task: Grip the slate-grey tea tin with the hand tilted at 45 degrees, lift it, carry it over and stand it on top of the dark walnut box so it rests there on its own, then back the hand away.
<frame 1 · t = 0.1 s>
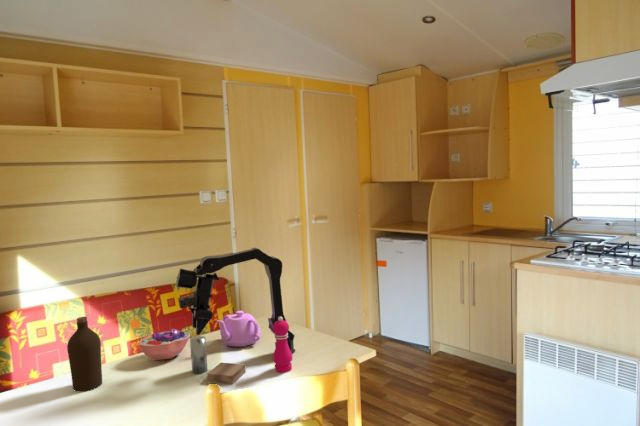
hand: (196, 331, 171), 15 cm above the table, tool pointing down, fingers open, 9 cm apart
pepper mill: (283, 369, 170), on the table
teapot: (237, 344, 200), on the table
olive oil: (88, 386, 164), on the table
walnut box: (227, 377, 166), on the table
tea tin: (200, 371, 172), on the table
cell model: (166, 357, 188), on the table
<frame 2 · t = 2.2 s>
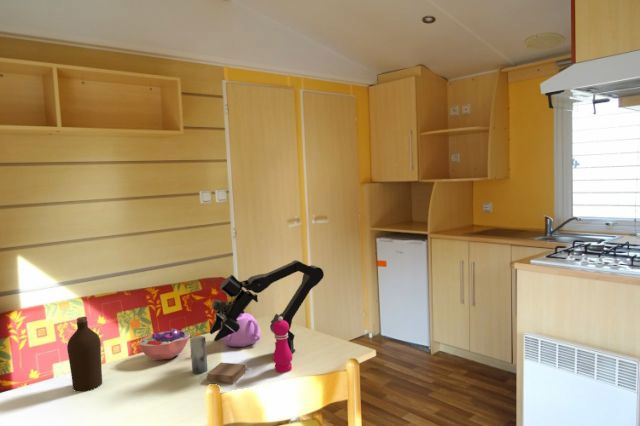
hand: (212, 337, 174), 12 cm above the table, tool tilted 45°, fingers open, 9 cm apart
nothing on the table moved.
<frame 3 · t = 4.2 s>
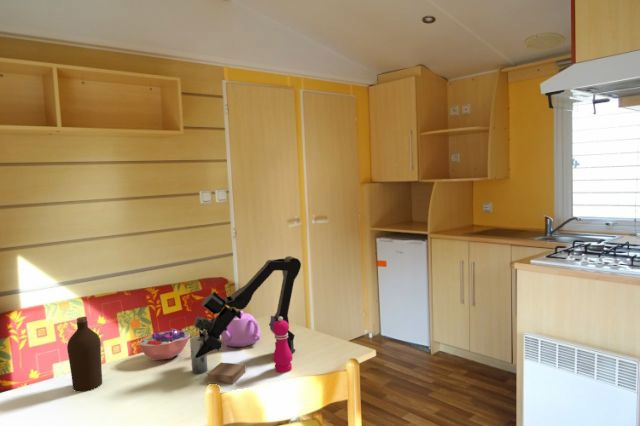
hand: (194, 354, 171), 7 cm above the table, tool tilted 45°, fingers closed on tea tin, 6 cm apart
tea tin: (199, 371, 172), on the table, touching gripper
everything else where it was.
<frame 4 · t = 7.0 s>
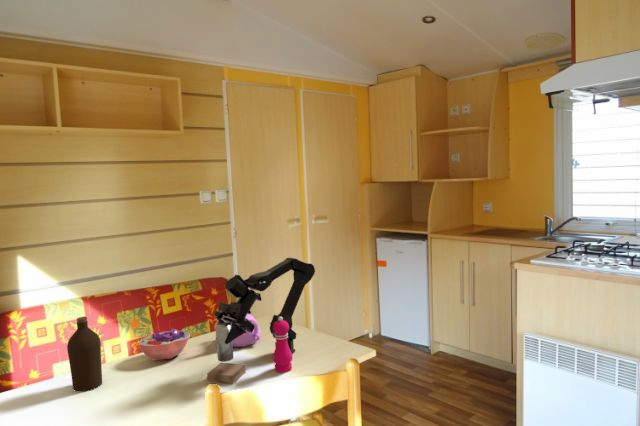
hand: (221, 341, 164), 13 cm above the table, tool tilted 45°, fingers closed on tea tin, 6 cm apart
tea tin: (225, 358, 165), point 7 cm above the table, touching gripper
everything else where it was.
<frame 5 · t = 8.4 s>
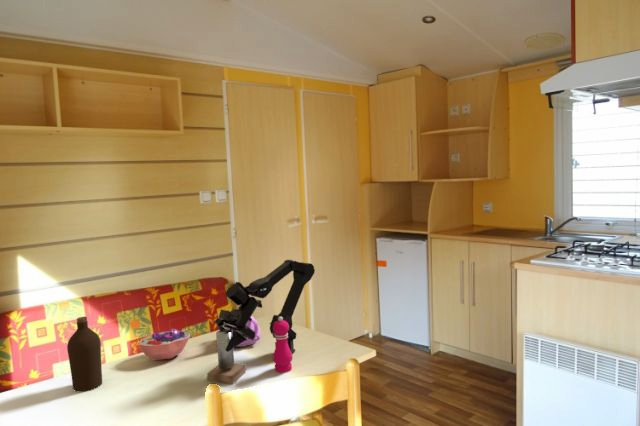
hand: (222, 349, 164), 11 cm above the table, tool tilted 45°, fingers closed on tea tin, 6 cm apart
tea tin: (226, 365, 165), point 4 cm above the table, touching gripper
everything else where it was.
when the fingers open (9 cm above the table, at t = 9.7 s): tea tin stays where it is, resting on walnut box.
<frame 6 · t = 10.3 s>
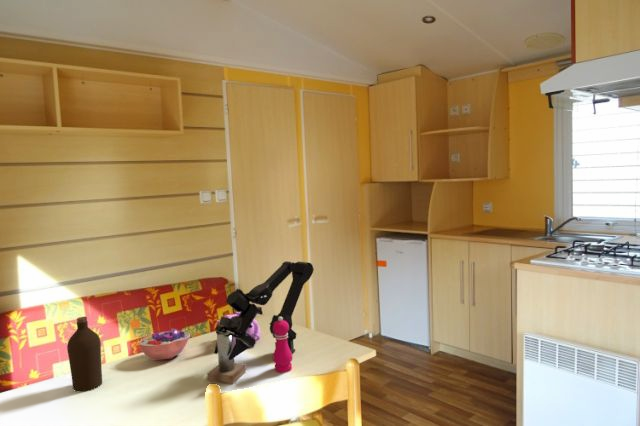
hand: (222, 356, 164), 8 cm above the table, tool tilted 45°, fingers open, 9 cm apart
tea tin: (226, 368, 165), point 3 cm above the table, touching walnut box
everything else where it was.
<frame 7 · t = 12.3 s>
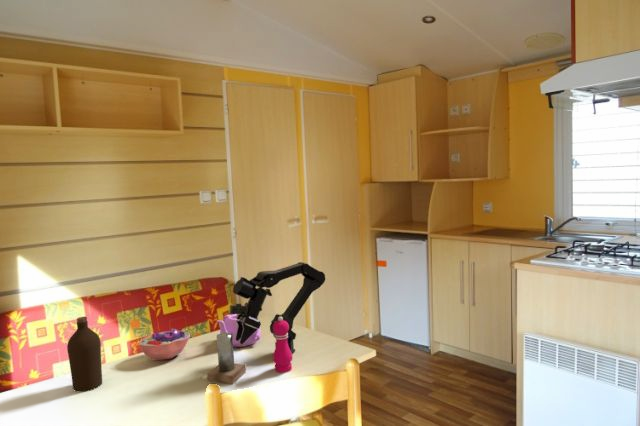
hand: (238, 342, 172), 10 cm above the table, tool tilted 30°, fingers open, 9 cm apart
nothing on the table moved.
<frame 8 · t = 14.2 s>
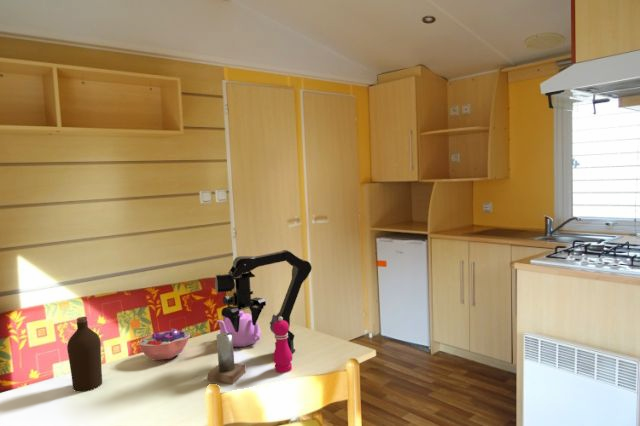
hand: (245, 328, 179), 13 cm above the table, tool pointing down, fingers open, 9 cm apart
nothing on the table moved.
at the end: tea tin 0.1 cm off-centre on the walnut box, point 3.0 cm above the walnut box's base; tea tin tilted 1°; tea tin touching walnut box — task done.
